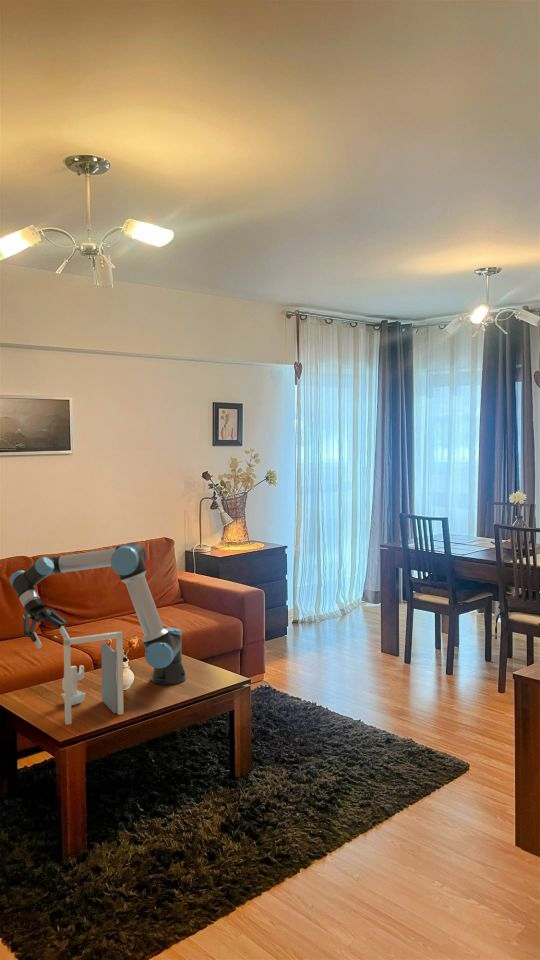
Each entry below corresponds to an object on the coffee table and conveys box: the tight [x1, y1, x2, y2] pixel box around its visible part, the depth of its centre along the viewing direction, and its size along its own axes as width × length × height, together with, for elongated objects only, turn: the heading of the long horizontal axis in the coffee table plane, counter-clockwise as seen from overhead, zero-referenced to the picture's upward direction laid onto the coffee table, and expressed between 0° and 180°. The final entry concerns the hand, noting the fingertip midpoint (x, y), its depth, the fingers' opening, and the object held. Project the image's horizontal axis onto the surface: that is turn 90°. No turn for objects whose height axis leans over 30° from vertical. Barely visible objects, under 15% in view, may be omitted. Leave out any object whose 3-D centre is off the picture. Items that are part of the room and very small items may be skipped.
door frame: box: [63, 631, 125, 726], centre depth 264 cm, size 22×2×32 cm, turn 119°
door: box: [100, 641, 117, 714], centre depth 276 cm, size 16×3×24 cm, turn 29°
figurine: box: [60, 665, 87, 706], centre depth 281 cm, size 7×9×15 cm
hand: (54, 643), depth 287 cm, fingers open, 13 cm apart
